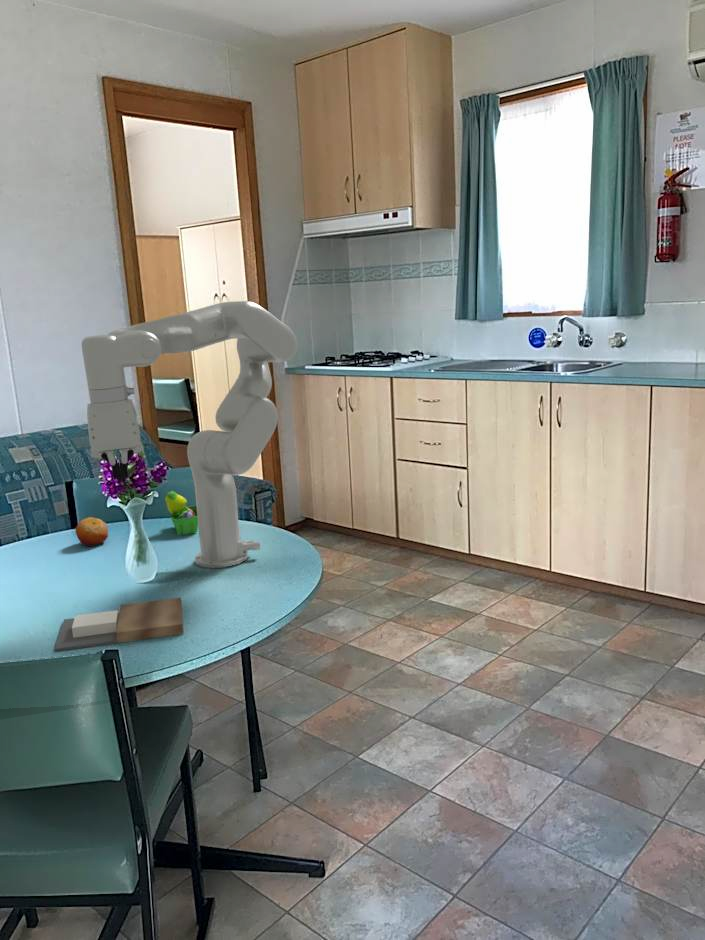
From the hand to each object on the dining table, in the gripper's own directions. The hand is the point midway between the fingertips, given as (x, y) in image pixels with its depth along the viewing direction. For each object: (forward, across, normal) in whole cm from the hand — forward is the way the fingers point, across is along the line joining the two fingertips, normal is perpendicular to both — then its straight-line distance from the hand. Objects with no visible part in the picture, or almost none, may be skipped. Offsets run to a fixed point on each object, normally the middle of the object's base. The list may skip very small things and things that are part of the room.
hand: (121, 481), depth 165 cm
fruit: (+26, +11, -40) cm, 49 cm away
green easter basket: (+26, -13, -43) cm, 52 cm away
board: (+24, -2, +20) cm, 32 cm away
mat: (+24, +9, +20) cm, 33 cm away
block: (+24, +8, +20) cm, 32 cm away
